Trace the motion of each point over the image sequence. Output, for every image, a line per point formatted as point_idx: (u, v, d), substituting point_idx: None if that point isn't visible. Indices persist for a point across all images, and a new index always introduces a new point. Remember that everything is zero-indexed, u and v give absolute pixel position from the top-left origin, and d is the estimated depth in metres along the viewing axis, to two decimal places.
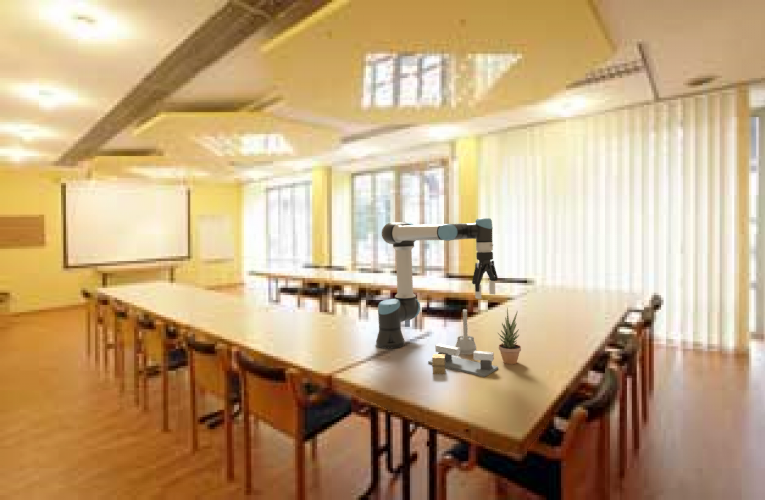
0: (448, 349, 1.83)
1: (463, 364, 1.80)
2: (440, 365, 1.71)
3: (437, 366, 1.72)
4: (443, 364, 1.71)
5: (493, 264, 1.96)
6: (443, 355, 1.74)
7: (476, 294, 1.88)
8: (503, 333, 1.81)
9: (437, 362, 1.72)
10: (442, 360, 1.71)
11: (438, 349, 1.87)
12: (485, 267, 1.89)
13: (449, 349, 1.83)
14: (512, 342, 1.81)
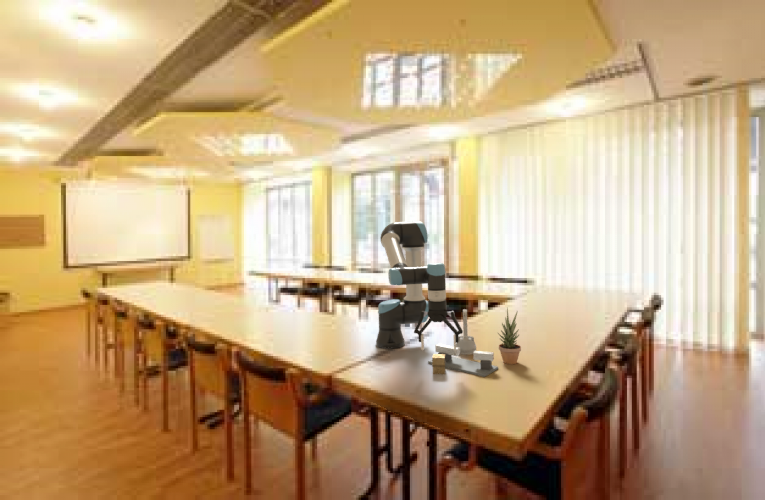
0: (448, 349, 1.83)
1: (463, 364, 1.80)
2: (440, 365, 1.71)
3: (437, 366, 1.72)
4: (443, 364, 1.71)
5: (452, 316, 1.70)
6: (443, 355, 1.74)
7: None
8: (503, 333, 1.81)
9: (437, 362, 1.72)
10: (442, 360, 1.71)
11: (438, 349, 1.87)
12: (431, 317, 1.72)
13: (449, 349, 1.83)
14: (512, 342, 1.81)
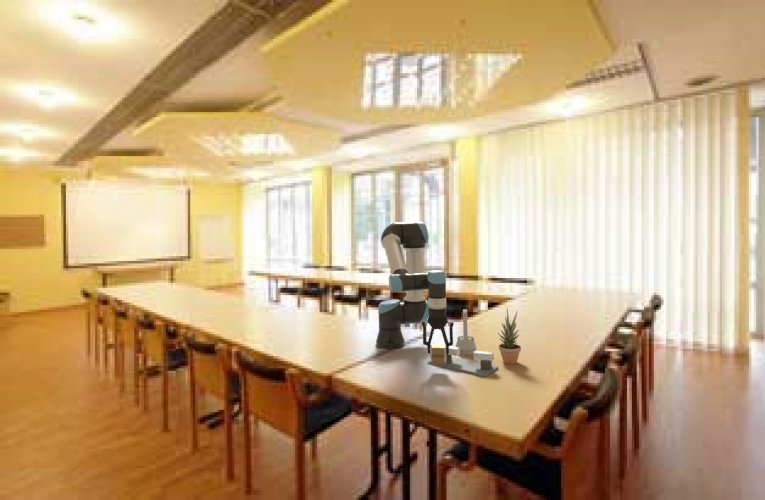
0: None
1: (463, 364, 1.80)
2: (440, 355, 1.72)
3: (436, 356, 1.72)
4: (442, 354, 1.71)
5: (450, 326, 1.71)
6: (442, 345, 1.74)
7: None
8: (503, 333, 1.81)
9: (436, 352, 1.72)
10: (441, 350, 1.71)
11: None
12: (432, 326, 1.72)
13: (449, 349, 1.83)
14: (512, 342, 1.81)
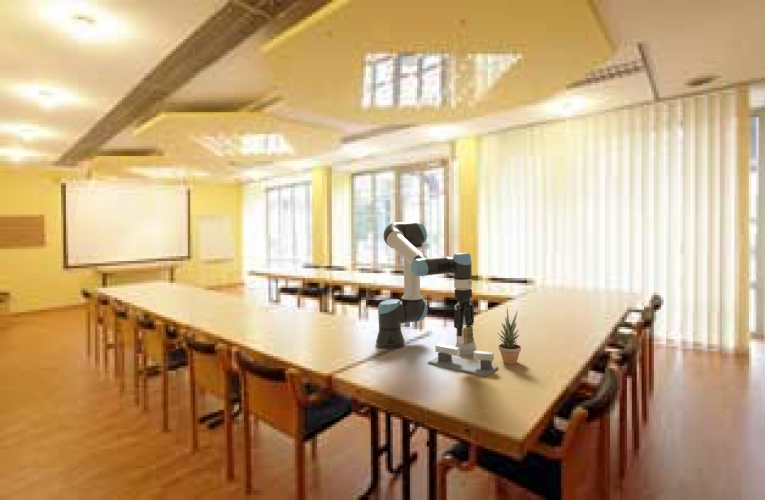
0: (448, 349, 1.83)
1: (463, 364, 1.80)
2: (471, 334, 1.78)
3: (469, 336, 1.77)
4: (472, 332, 1.78)
5: (472, 305, 1.81)
6: (465, 325, 1.80)
7: (458, 338, 1.77)
8: (503, 333, 1.81)
9: (469, 332, 1.76)
10: (471, 329, 1.78)
11: (438, 349, 1.87)
12: (464, 307, 1.75)
13: (449, 349, 1.83)
14: (512, 342, 1.81)
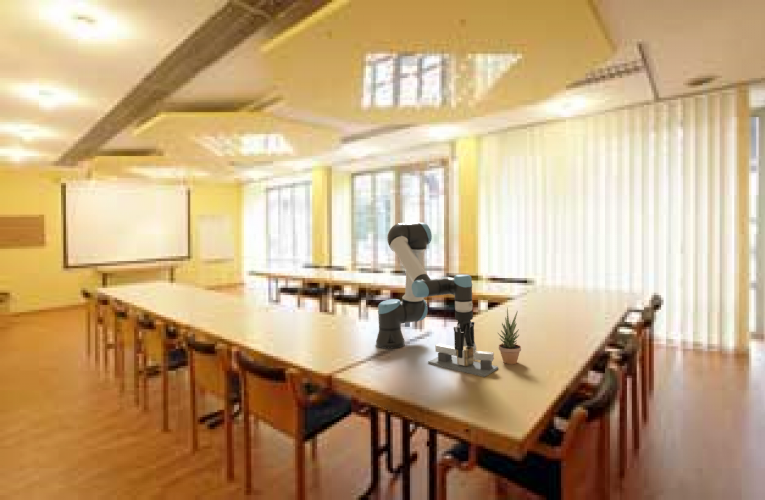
0: (448, 349, 1.83)
1: None
2: (471, 355, 1.78)
3: (469, 357, 1.77)
4: (472, 354, 1.79)
5: (473, 326, 1.82)
6: (465, 346, 1.81)
7: (459, 360, 1.77)
8: (503, 333, 1.81)
9: (469, 354, 1.77)
10: (472, 350, 1.79)
11: (438, 349, 1.87)
12: (465, 329, 1.76)
13: (449, 349, 1.83)
14: (512, 342, 1.81)
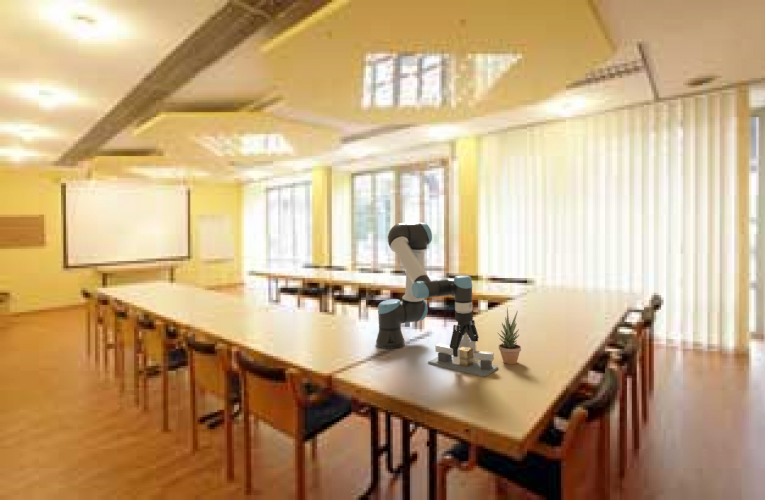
0: (448, 349, 1.83)
1: None
2: (471, 356, 1.78)
3: (469, 358, 1.77)
4: (472, 354, 1.79)
5: (473, 324, 1.82)
6: (465, 347, 1.81)
7: (454, 359, 1.74)
8: (503, 333, 1.81)
9: (469, 355, 1.77)
10: (472, 351, 1.79)
11: (438, 349, 1.87)
12: (464, 329, 1.75)
13: (449, 349, 1.83)
14: (512, 342, 1.81)
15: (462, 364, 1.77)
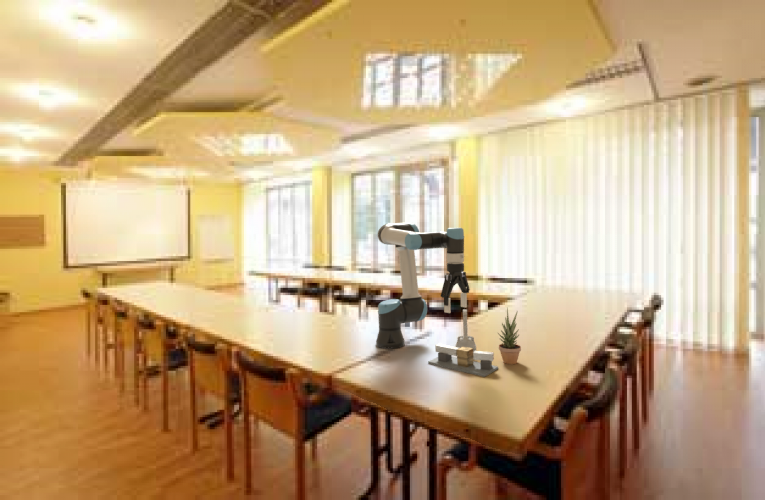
0: (448, 349, 1.83)
1: None
2: (471, 356, 1.78)
3: (469, 358, 1.77)
4: (472, 354, 1.79)
5: (465, 276, 1.86)
6: (465, 347, 1.81)
7: (445, 308, 1.79)
8: (503, 333, 1.81)
9: (469, 355, 1.77)
10: (472, 351, 1.79)
11: (438, 349, 1.87)
12: (455, 279, 1.79)
13: (449, 349, 1.83)
14: (512, 342, 1.81)
15: (462, 364, 1.77)
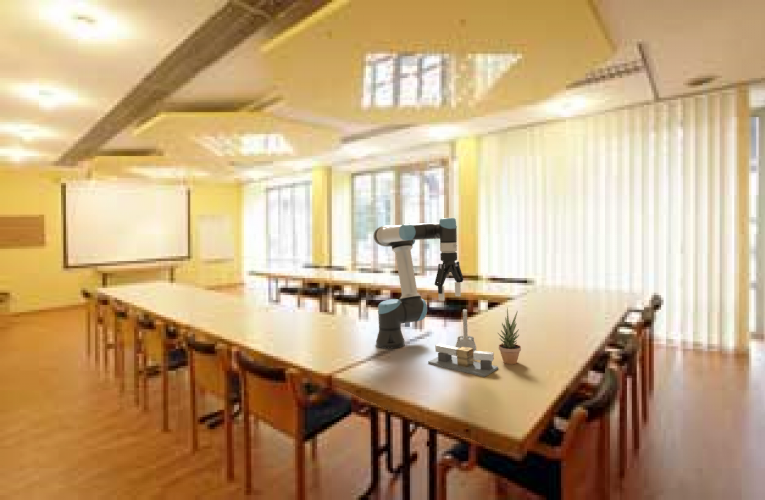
0: (448, 349, 1.83)
1: None
2: (471, 356, 1.78)
3: (469, 358, 1.77)
4: (472, 354, 1.79)
5: (458, 265, 1.90)
6: (465, 347, 1.81)
7: (439, 296, 1.82)
8: (503, 333, 1.81)
9: (469, 355, 1.77)
10: (472, 351, 1.79)
11: (438, 349, 1.87)
12: (449, 268, 1.83)
13: (449, 349, 1.83)
14: (512, 342, 1.81)
15: (462, 364, 1.77)
